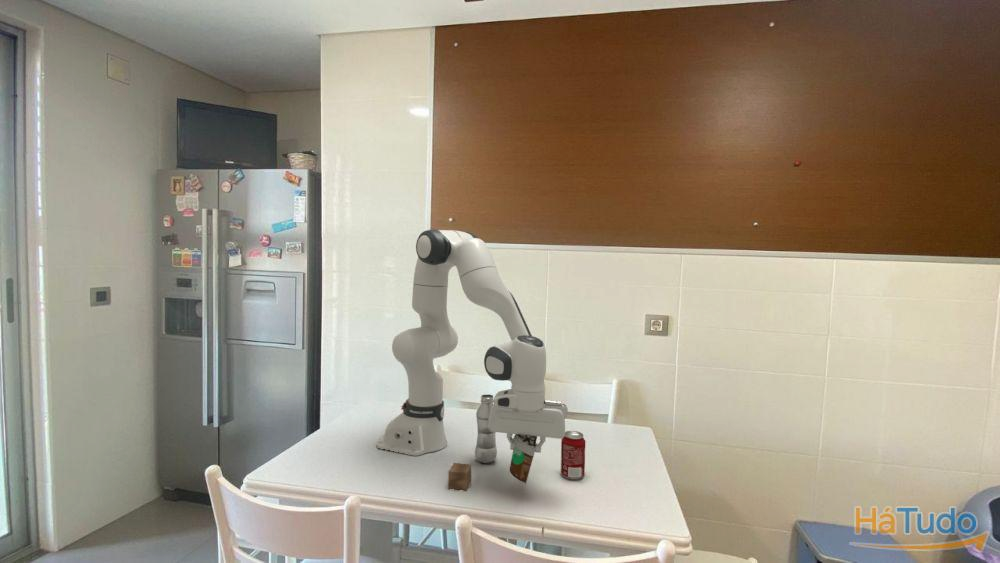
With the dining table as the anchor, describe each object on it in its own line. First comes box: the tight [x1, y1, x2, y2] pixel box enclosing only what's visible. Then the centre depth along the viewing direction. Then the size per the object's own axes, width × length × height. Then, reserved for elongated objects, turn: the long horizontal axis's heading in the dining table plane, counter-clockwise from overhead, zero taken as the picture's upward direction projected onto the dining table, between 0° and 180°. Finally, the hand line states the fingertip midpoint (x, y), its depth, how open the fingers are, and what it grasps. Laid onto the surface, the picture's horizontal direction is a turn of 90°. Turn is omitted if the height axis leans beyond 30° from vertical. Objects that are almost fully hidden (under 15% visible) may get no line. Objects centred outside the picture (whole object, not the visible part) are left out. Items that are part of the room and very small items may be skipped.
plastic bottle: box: [474, 394, 498, 464], centre depth 135 cm, size 6×7×20 cm
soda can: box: [560, 430, 586, 481], centre depth 127 cm, size 7×7×12 cm
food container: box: [509, 434, 538, 484], centre depth 118 cm, size 12×6×10 cm, turn 171°
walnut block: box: [447, 462, 472, 492], centre depth 121 cm, size 5×5×5 cm
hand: (525, 450), depth 117 cm, fingers closed on food container, 5 cm apart
